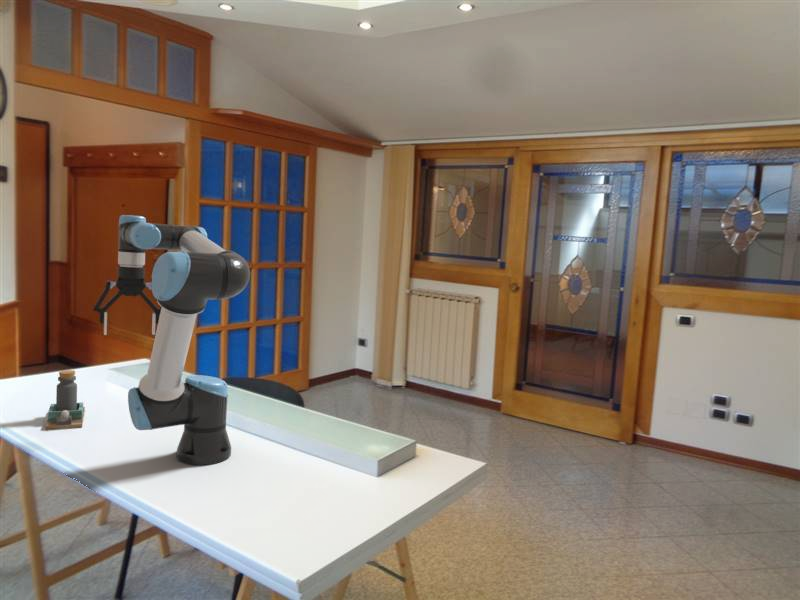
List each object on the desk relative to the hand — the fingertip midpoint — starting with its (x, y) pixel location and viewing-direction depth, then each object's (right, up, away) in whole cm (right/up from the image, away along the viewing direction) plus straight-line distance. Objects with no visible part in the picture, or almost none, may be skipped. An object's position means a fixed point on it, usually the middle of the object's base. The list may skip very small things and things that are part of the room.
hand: (129, 334), depth 181 cm
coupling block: (-26, -29, +11) cm, 41 cm away
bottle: (-26, -28, +11) cm, 40 cm away
